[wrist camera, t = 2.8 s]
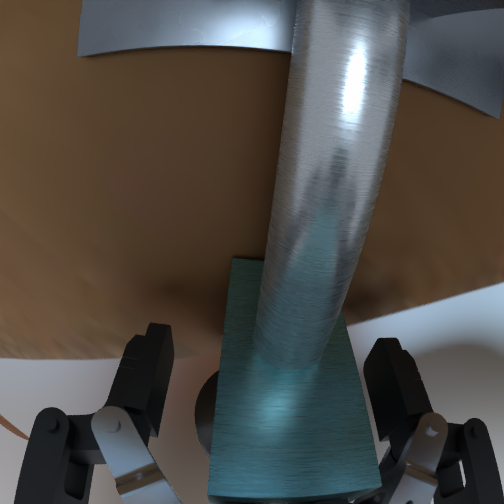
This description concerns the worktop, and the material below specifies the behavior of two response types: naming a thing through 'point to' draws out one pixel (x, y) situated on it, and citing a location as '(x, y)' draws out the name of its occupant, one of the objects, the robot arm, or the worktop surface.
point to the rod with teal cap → (308, 274)
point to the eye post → (282, 31)
